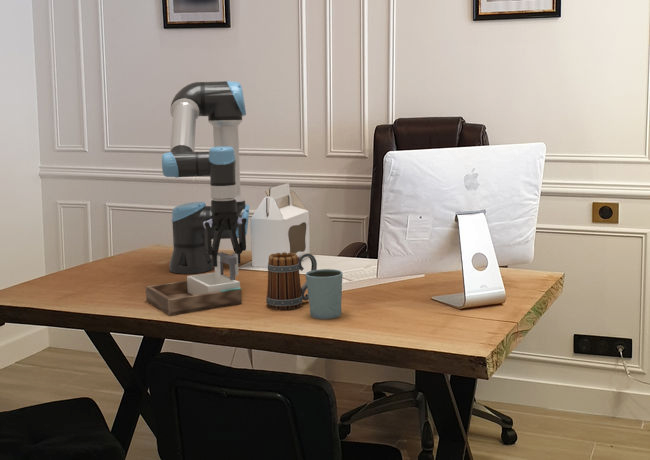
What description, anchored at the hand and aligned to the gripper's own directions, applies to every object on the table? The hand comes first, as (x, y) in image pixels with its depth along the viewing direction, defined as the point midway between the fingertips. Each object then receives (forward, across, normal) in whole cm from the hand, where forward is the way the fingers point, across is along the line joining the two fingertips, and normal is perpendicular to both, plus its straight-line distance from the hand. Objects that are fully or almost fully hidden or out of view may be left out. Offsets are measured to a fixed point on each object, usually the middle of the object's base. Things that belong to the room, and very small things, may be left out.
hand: (226, 275), depth 253 cm
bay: (+7, +11, 0) cm, 13 cm away
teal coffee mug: (+7, -14, +34) cm, 37 cm away
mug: (+7, -12, +19) cm, 24 cm away
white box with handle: (+5, +4, 0) cm, 7 cm away
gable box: (+7, -38, -37) cm, 54 cm away
